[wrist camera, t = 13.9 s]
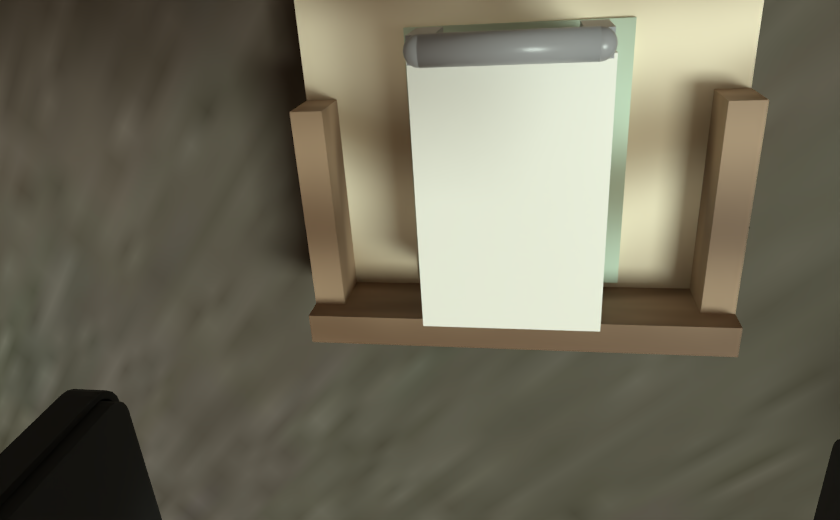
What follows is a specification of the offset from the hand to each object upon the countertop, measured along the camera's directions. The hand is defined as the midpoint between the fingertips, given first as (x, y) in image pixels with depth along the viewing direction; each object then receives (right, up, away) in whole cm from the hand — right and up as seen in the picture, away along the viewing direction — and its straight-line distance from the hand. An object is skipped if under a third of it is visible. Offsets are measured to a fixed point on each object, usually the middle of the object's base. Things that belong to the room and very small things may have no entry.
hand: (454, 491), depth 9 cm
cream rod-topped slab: (+3, +7, +16) cm, 18 cm away
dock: (+4, +9, +18) cm, 21 cm away
